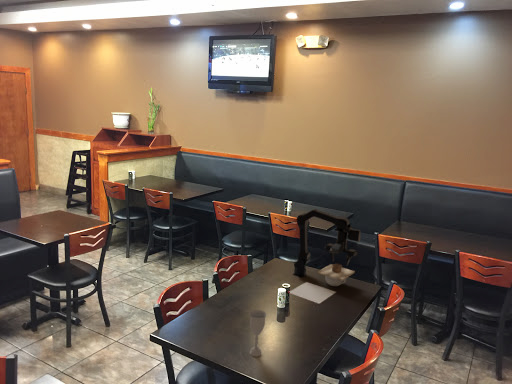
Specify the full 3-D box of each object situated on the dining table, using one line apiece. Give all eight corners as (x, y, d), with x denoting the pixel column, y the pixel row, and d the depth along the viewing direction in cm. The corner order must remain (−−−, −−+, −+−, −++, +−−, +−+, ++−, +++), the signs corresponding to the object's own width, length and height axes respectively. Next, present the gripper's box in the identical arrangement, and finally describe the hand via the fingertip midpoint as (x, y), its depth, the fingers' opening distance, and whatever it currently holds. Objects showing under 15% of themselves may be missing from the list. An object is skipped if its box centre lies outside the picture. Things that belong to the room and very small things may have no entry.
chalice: (263, 348, 178) (266, 310, 175) (264, 357, 171) (267, 318, 168) (246, 348, 178) (248, 309, 174) (247, 357, 171) (249, 317, 168)
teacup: (321, 281, 252) (322, 269, 250) (335, 279, 256) (337, 267, 255) (334, 291, 239) (335, 278, 238) (349, 288, 244) (351, 276, 242)
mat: (288, 292, 234) (288, 292, 234) (306, 282, 250) (306, 281, 249) (319, 304, 222) (319, 303, 222) (336, 292, 238) (336, 292, 238)
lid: (318, 272, 245) (318, 264, 244) (330, 265, 257) (331, 258, 256) (342, 280, 235) (343, 272, 234) (354, 272, 248) (355, 265, 247)
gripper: (321, 237, 244) (319, 262, 247) (350, 245, 233) (347, 271, 236) (330, 234, 252) (328, 258, 255) (358, 241, 241) (356, 266, 244)
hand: (339, 263), depth 247 cm, fingers open, 9 cm apart
